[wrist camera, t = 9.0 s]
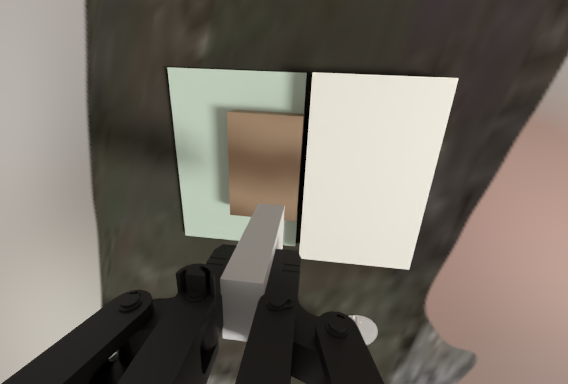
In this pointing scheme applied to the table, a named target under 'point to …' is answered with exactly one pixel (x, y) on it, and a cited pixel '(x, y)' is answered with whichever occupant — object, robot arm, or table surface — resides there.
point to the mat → (221, 139)
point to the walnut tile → (264, 160)
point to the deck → (370, 165)
